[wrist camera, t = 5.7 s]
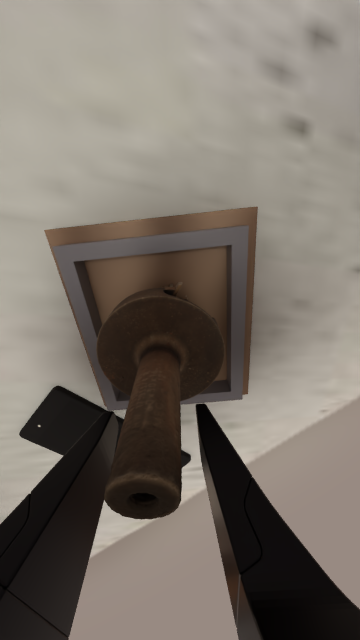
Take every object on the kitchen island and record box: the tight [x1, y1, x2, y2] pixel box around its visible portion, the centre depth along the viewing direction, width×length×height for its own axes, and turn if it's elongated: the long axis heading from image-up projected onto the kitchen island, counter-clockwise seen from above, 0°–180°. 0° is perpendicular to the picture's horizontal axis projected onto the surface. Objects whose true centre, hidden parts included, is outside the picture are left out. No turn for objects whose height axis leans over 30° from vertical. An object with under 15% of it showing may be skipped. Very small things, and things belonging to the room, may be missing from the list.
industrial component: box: [96, 282, 225, 519], centre depth 11 cm, size 9×7×12 cm
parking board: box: [44, 207, 258, 406], centre depth 17 cm, size 14×16×1 cm
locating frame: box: [52, 225, 249, 411], centre depth 16 cm, size 12×14×2 cm
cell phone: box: [19, 386, 191, 467], centre depth 24 cm, size 9×18×1 cm, turn 50°
